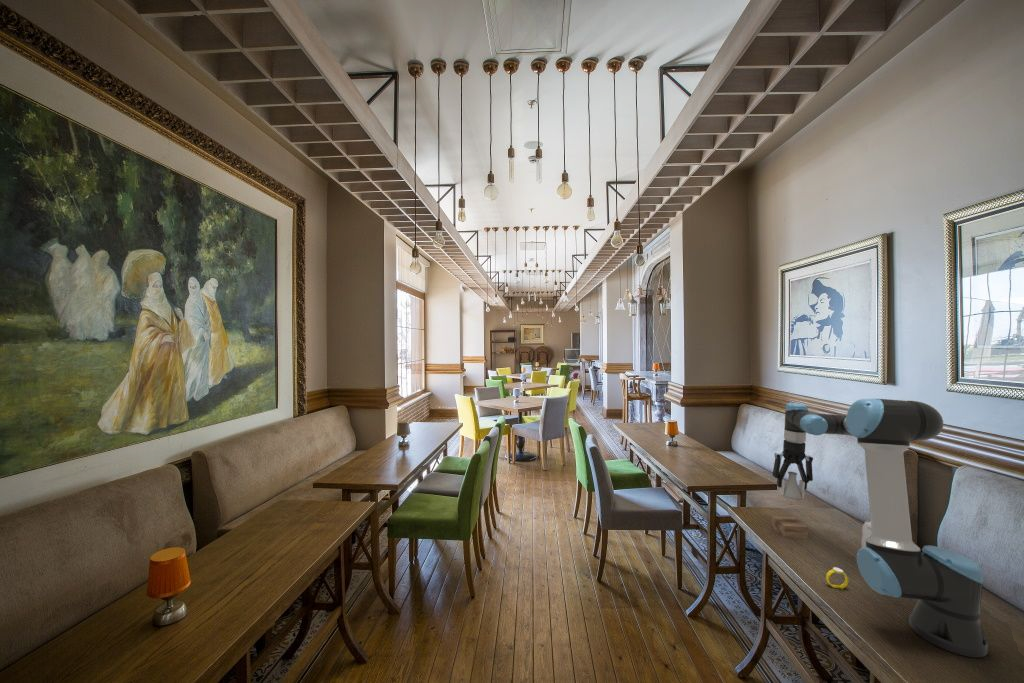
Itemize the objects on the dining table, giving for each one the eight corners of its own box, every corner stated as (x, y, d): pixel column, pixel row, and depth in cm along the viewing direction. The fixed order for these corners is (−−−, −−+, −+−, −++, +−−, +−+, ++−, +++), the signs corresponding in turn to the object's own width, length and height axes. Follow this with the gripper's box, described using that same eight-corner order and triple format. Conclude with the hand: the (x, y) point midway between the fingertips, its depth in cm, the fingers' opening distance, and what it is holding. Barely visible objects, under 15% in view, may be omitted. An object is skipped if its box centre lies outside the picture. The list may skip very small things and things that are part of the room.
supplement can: (892, 576, 147) (895, 533, 146) (862, 568, 151) (864, 526, 150) (887, 565, 154) (890, 524, 153) (858, 557, 158) (860, 518, 157)
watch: (843, 586, 140) (846, 569, 140) (848, 591, 137) (851, 573, 137) (823, 582, 141) (826, 565, 141) (828, 587, 138) (830, 570, 138)
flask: (781, 497, 174) (783, 473, 174) (780, 492, 180) (781, 468, 180) (803, 501, 171) (804, 477, 170) (800, 495, 177) (802, 472, 177)
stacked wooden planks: (807, 539, 171) (807, 527, 171) (784, 538, 172) (784, 525, 172) (793, 528, 180) (794, 517, 180) (771, 527, 181) (772, 515, 181)
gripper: (816, 440, 177) (812, 494, 178) (764, 436, 180) (761, 490, 181) (826, 445, 169) (822, 502, 170) (772, 441, 173) (769, 497, 174)
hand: (791, 495), depth 176 cm, fingers closed on flask, 7 cm apart
